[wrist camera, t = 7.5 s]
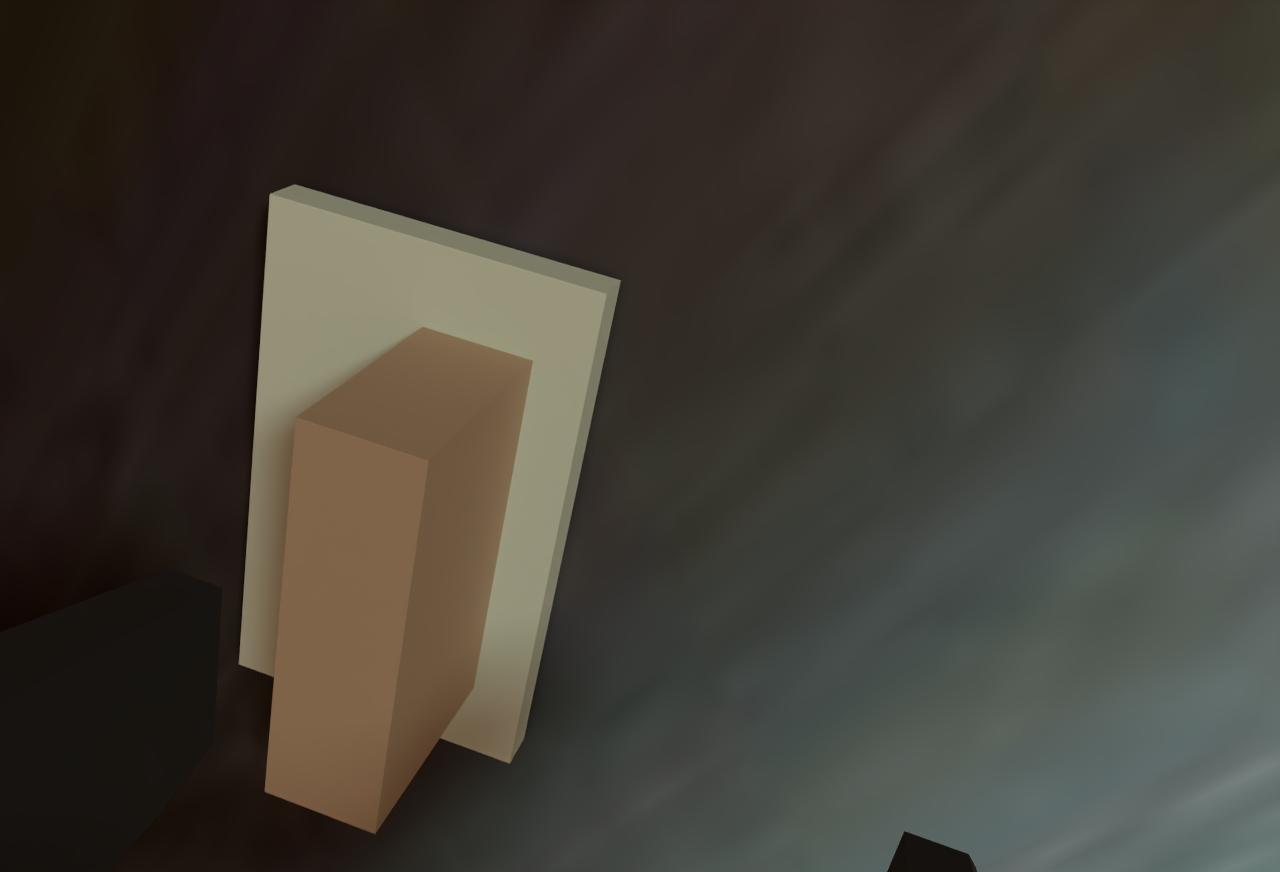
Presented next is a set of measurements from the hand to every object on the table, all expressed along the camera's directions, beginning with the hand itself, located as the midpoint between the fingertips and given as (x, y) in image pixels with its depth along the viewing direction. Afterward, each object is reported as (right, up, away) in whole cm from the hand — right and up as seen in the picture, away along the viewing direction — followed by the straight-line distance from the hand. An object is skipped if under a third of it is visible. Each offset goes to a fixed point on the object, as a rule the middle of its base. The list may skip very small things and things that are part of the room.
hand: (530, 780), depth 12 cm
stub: (-3, +3, +10) cm, 11 cm away
